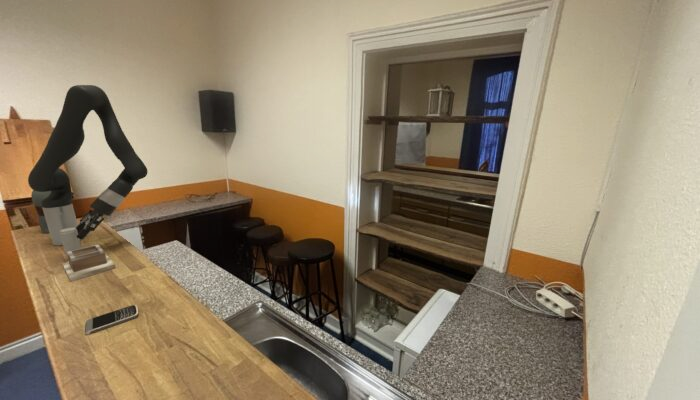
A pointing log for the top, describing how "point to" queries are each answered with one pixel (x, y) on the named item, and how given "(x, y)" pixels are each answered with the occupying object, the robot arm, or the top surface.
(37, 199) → the bottle
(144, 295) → the top surface
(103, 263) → the pedestal base
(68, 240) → the beverage can
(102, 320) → the cell phone
